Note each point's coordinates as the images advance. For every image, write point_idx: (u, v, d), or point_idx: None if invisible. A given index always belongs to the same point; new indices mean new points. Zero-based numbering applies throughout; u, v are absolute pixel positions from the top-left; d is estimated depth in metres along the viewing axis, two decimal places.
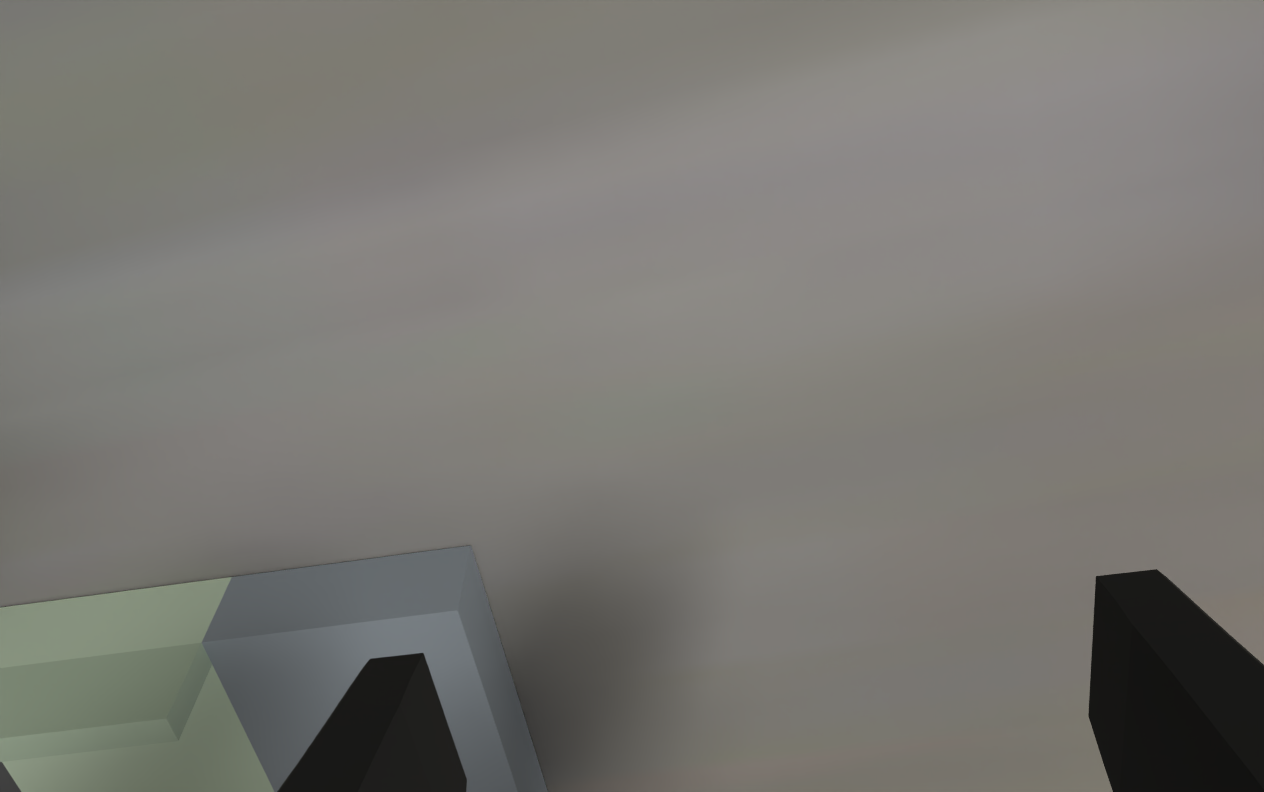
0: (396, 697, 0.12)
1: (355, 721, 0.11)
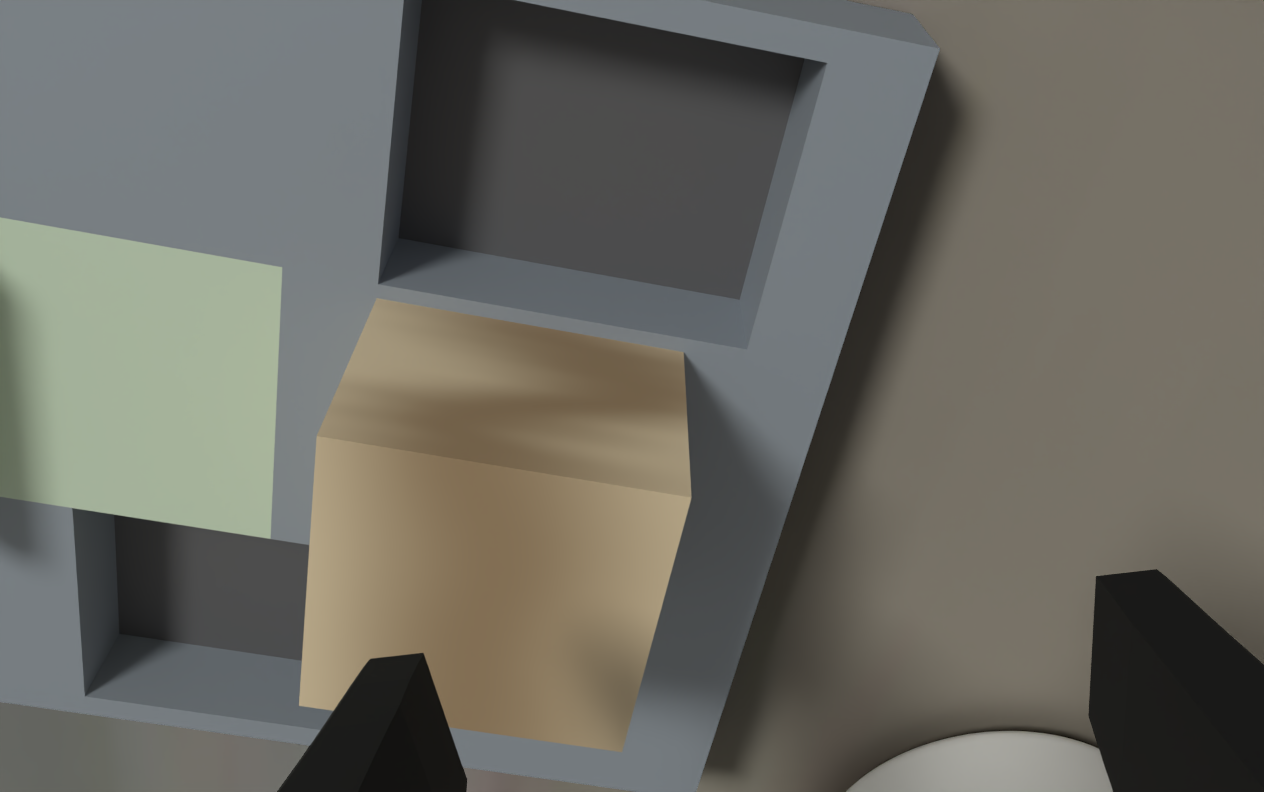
0: (396, 697, 0.12)
1: (355, 721, 0.11)
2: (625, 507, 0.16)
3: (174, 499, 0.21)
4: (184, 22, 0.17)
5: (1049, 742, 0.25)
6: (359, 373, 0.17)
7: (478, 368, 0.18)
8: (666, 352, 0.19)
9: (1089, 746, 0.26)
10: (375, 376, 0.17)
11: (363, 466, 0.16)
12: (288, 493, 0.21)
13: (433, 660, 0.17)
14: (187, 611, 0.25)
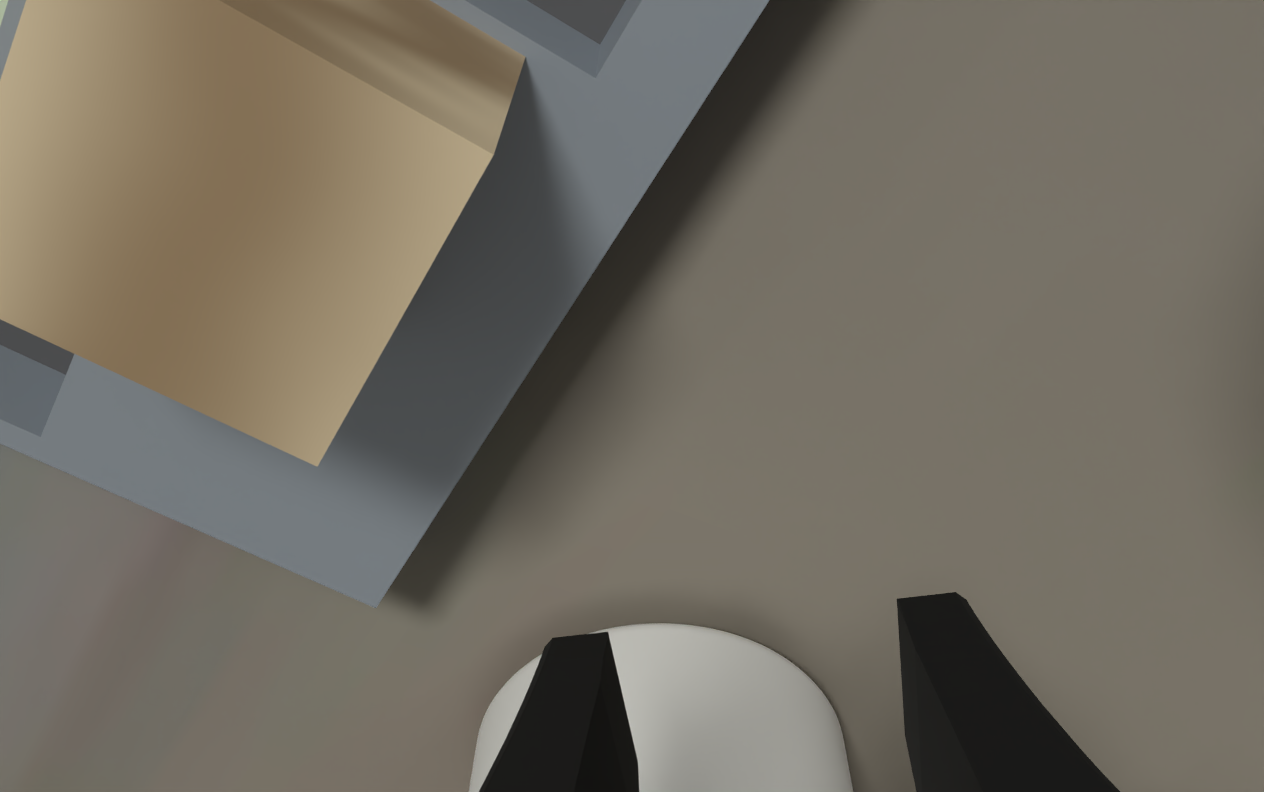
0: (594, 675, 0.12)
1: (557, 699, 0.11)
2: (413, 141, 0.13)
3: None
4: None
5: (762, 652, 0.24)
6: None
7: None
8: (506, 48, 0.16)
9: (799, 669, 0.24)
10: None
11: None
12: None
13: (122, 277, 0.14)
14: None
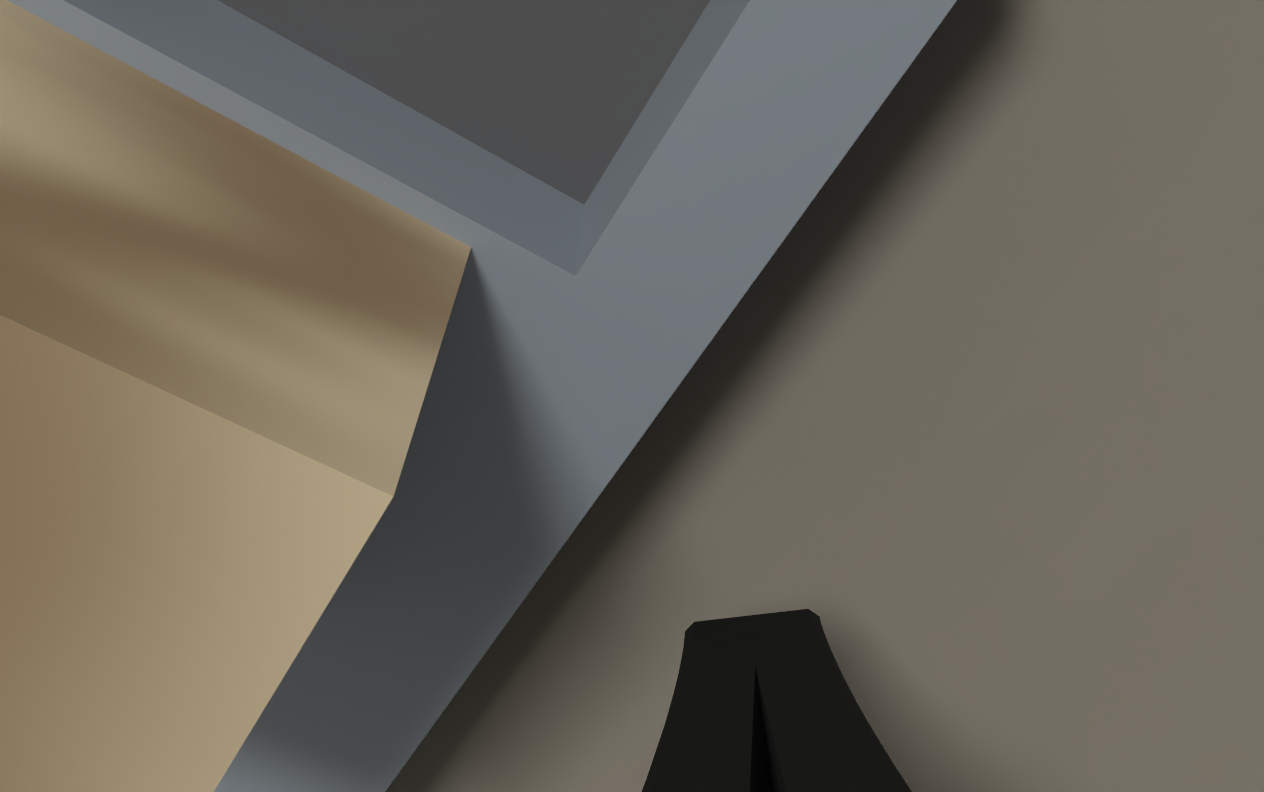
0: (746, 658, 0.11)
1: (714, 682, 0.11)
2: (256, 478, 0.08)
3: None
4: None
5: None
6: None
7: (74, 137, 0.09)
8: (443, 237, 0.11)
9: None
10: None
11: None
12: None
13: None
14: None
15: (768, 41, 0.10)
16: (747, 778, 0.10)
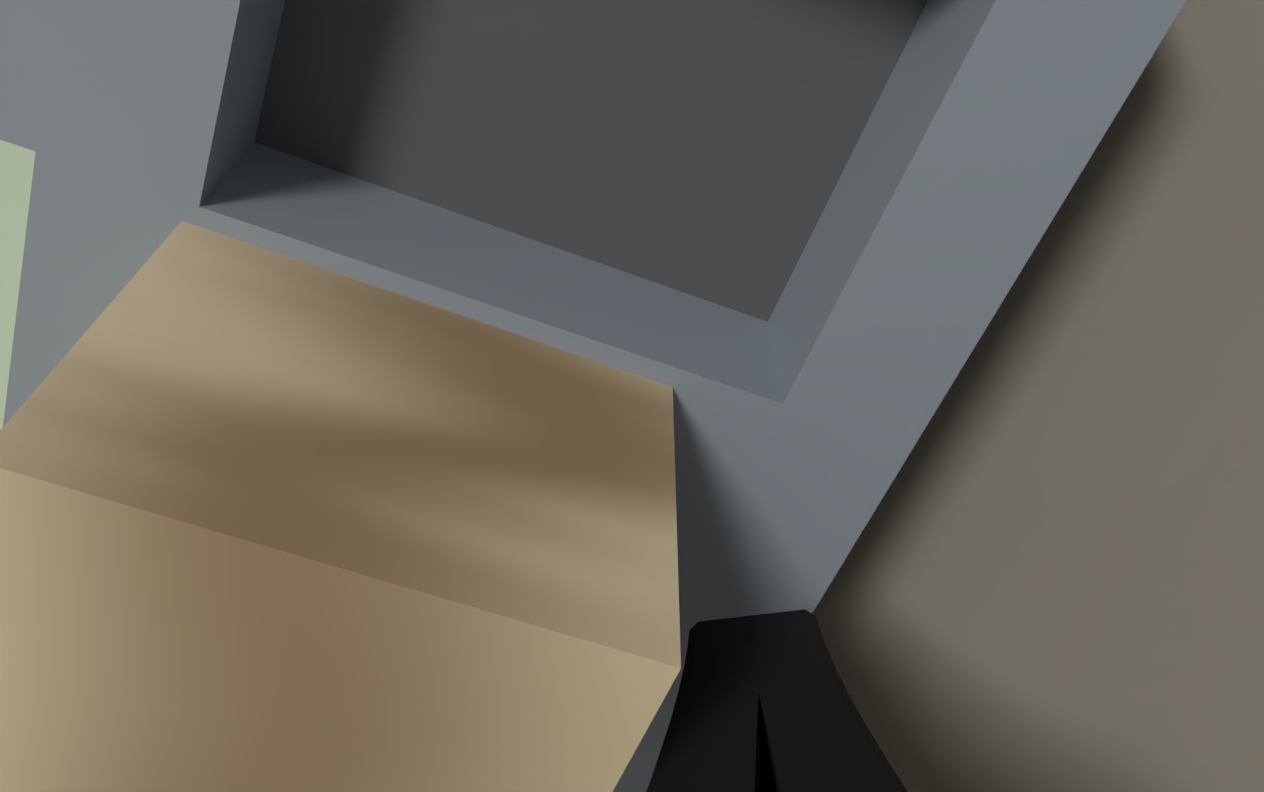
0: (751, 658, 0.11)
1: (719, 681, 0.11)
2: (558, 668, 0.09)
3: None
4: None
5: None
6: (108, 345, 0.09)
7: (332, 367, 0.10)
8: (646, 384, 0.12)
9: None
10: (138, 355, 0.09)
11: (68, 529, 0.08)
12: None
13: None
14: None
15: (943, 171, 0.11)
16: (752, 778, 0.10)
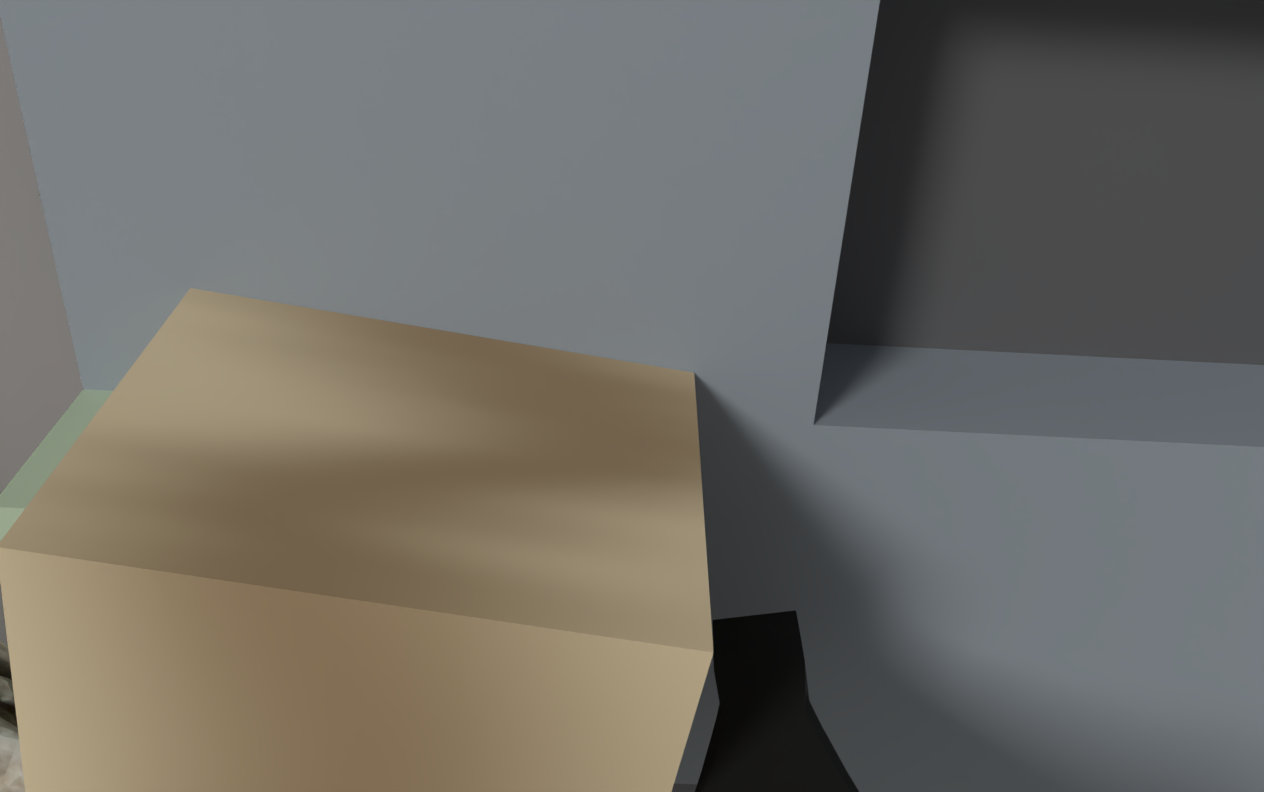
0: (795, 653, 0.11)
1: (764, 676, 0.11)
2: (589, 670, 0.09)
3: None
4: (525, 66, 0.10)
5: None
6: (121, 419, 0.10)
7: (343, 406, 0.10)
8: (667, 373, 0.12)
9: None
10: (152, 423, 0.10)
11: (95, 601, 0.08)
12: None
13: None
14: None
15: None
16: (804, 772, 0.10)
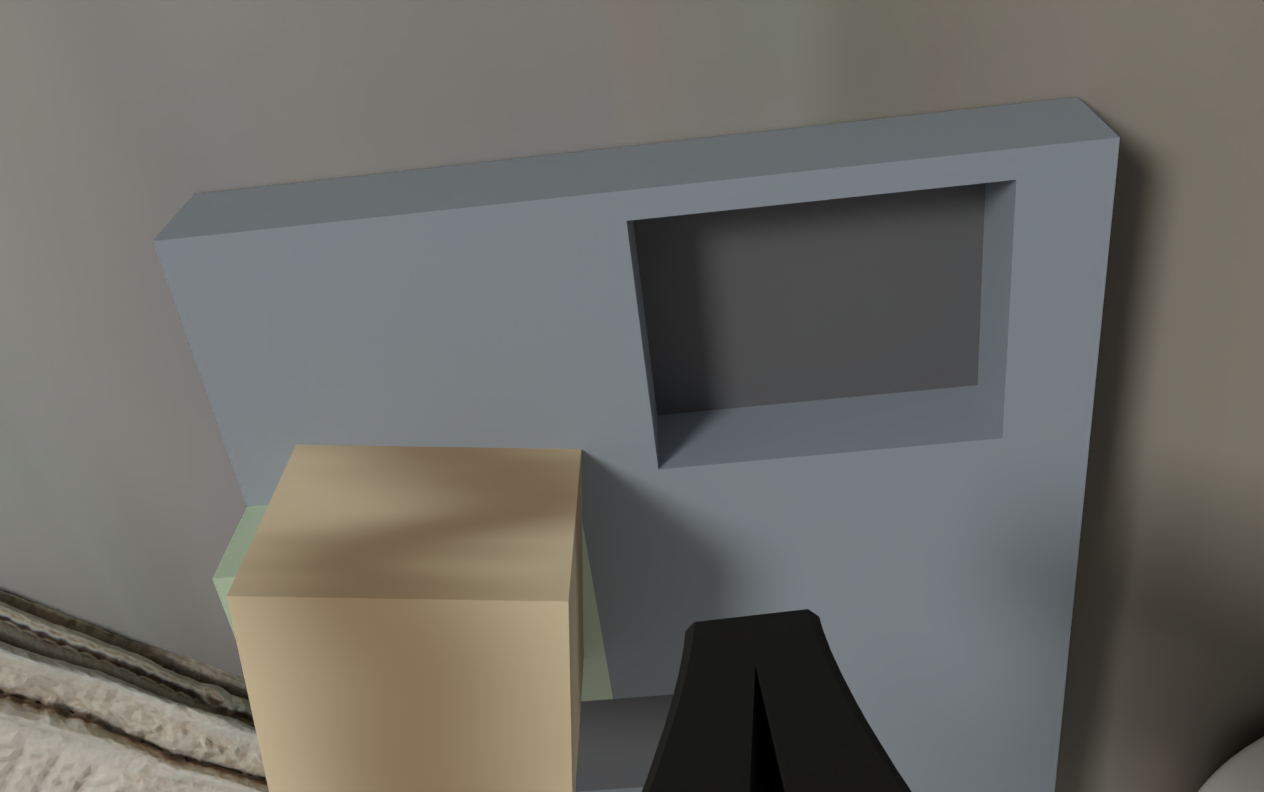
0: (747, 658, 0.11)
1: (714, 682, 0.11)
2: (512, 618, 0.17)
3: None
4: (452, 307, 0.19)
5: None
6: (272, 525, 0.19)
7: (382, 501, 0.19)
8: (564, 452, 0.21)
9: None
10: (286, 525, 0.19)
11: (274, 615, 0.17)
12: (620, 658, 0.23)
13: (381, 770, 0.19)
14: None
15: (1031, 291, 0.19)
16: (747, 778, 0.10)
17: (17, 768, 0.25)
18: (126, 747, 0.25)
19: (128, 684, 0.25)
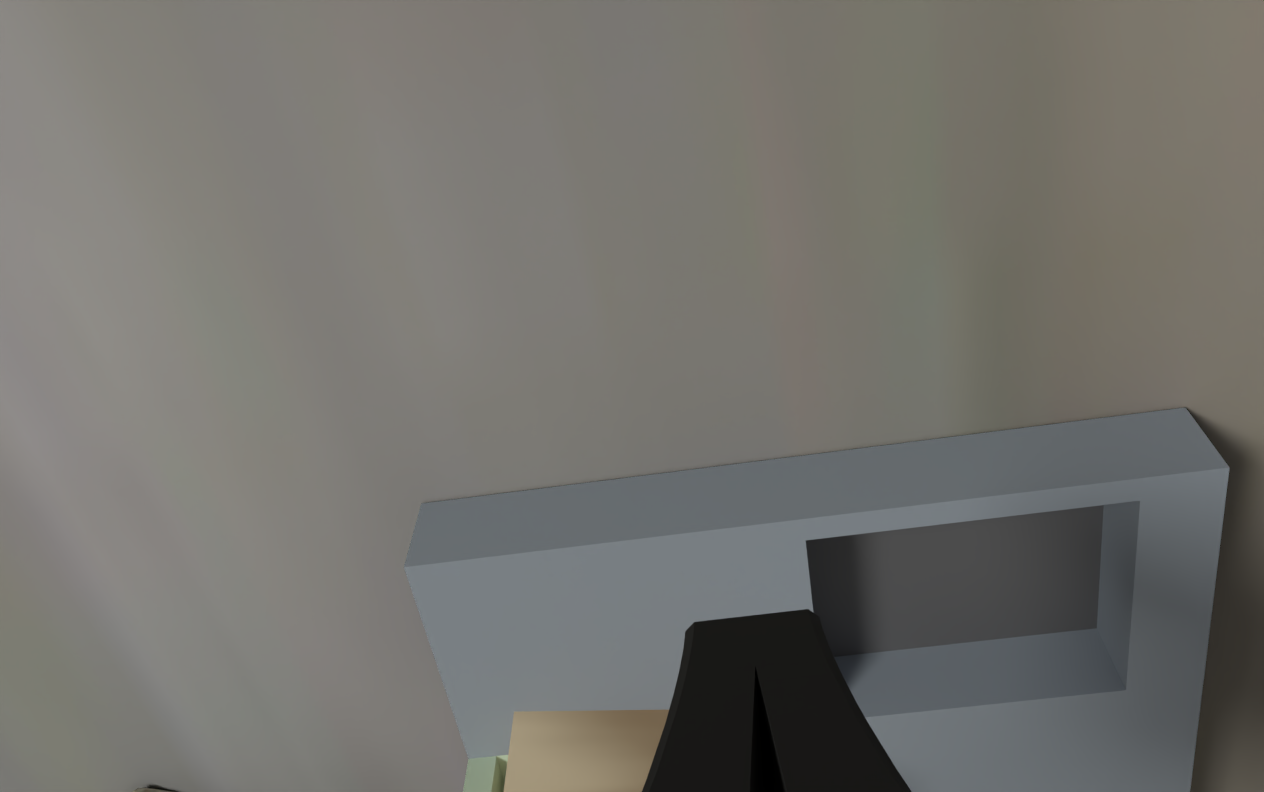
0: (746, 658, 0.11)
1: (714, 682, 0.11)
2: None
3: None
4: (654, 607, 0.23)
5: None
6: None
7: (600, 773, 0.23)
8: None
9: None
10: None
11: None
12: None
13: None
14: None
15: (1152, 581, 0.22)
16: (747, 778, 0.10)
17: None
18: None
19: None
